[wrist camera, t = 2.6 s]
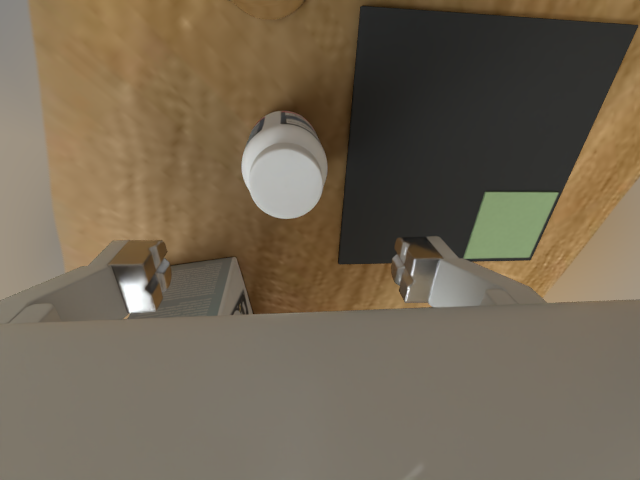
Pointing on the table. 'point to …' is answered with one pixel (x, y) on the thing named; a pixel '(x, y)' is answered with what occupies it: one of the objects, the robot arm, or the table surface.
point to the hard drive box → (203, 291)
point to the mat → (468, 127)
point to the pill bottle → (284, 165)
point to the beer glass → (268, 8)
